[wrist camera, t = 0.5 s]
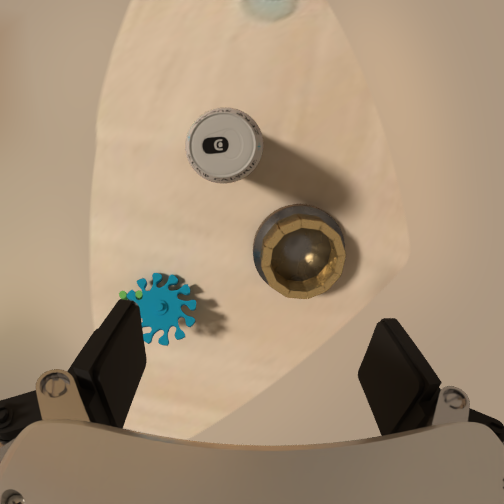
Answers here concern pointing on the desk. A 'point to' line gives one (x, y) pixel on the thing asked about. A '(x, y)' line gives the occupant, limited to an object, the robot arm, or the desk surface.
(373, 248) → the desk surface
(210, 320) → the desk surface
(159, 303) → the gear
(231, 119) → the energy drink can
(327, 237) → the carrier
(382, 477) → the robot arm
